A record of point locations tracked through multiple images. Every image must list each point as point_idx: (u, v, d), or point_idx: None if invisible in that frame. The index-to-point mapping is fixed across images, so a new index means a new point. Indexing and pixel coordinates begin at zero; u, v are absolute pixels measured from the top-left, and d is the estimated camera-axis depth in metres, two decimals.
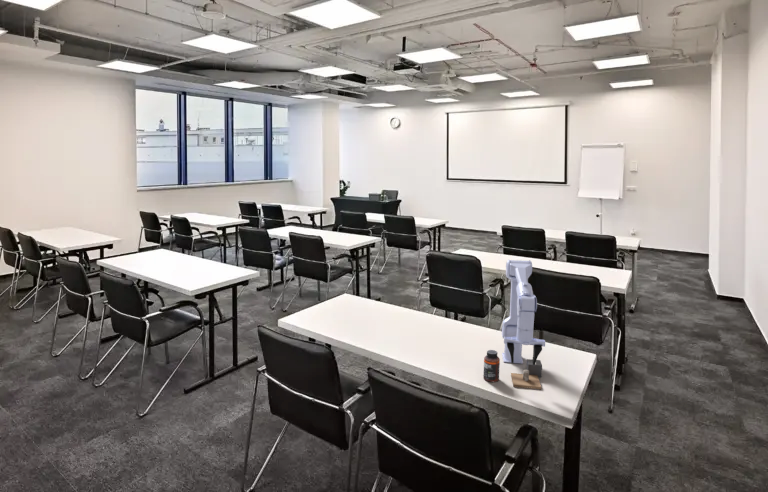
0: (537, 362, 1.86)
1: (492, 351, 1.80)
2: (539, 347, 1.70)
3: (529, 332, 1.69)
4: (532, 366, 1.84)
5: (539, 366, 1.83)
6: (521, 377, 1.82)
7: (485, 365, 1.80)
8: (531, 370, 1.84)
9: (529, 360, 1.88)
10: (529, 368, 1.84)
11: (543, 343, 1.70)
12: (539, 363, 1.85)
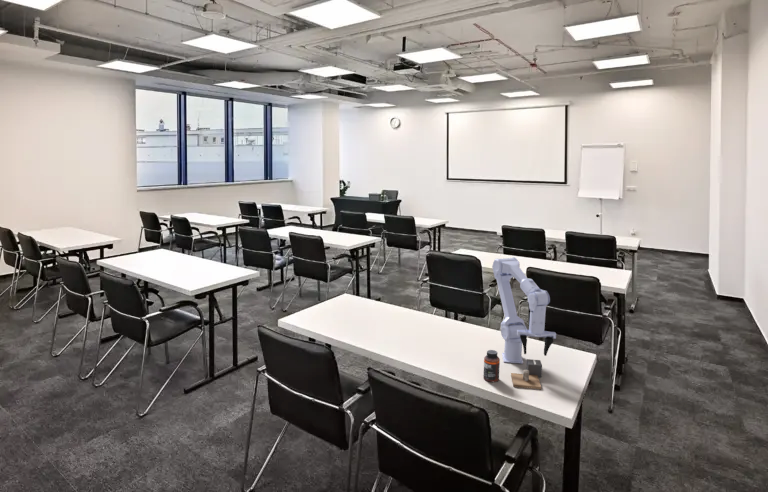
0: (537, 362, 1.86)
1: (492, 351, 1.80)
2: (550, 339, 1.82)
3: (541, 325, 1.81)
4: (532, 366, 1.84)
5: (539, 366, 1.83)
6: (521, 377, 1.82)
7: (485, 365, 1.80)
8: (531, 370, 1.84)
9: (529, 360, 1.88)
10: (529, 368, 1.84)
11: (554, 335, 1.82)
12: (539, 363, 1.85)
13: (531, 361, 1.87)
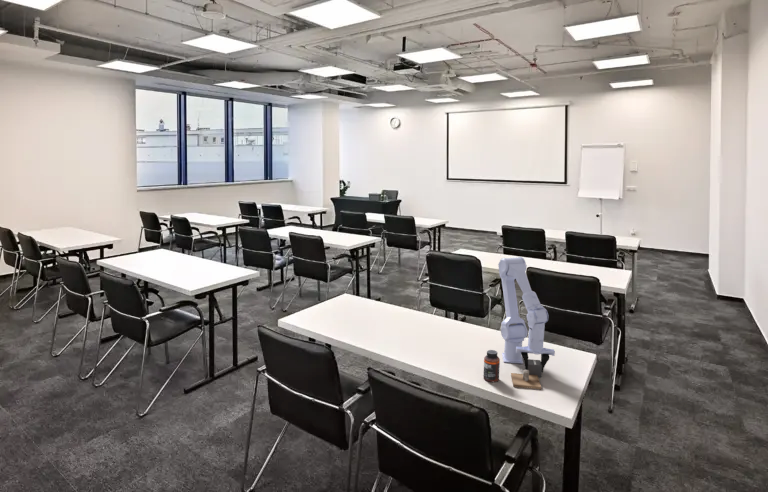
0: (537, 362, 1.86)
1: (492, 351, 1.80)
2: None
3: (540, 342, 1.82)
4: (532, 366, 1.84)
5: (539, 366, 1.83)
6: (521, 377, 1.82)
7: (485, 365, 1.80)
8: (531, 370, 1.84)
9: (529, 360, 1.88)
10: (529, 368, 1.84)
11: (553, 352, 1.83)
12: (539, 363, 1.85)
13: (531, 361, 1.87)
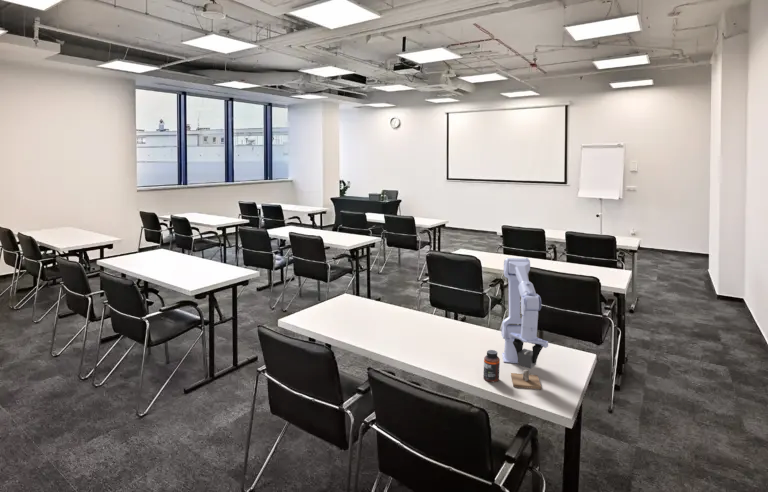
0: (530, 353, 1.77)
1: (492, 351, 1.80)
2: (539, 347, 1.73)
3: (529, 330, 1.74)
4: (522, 355, 1.77)
5: (528, 356, 1.75)
6: (521, 377, 1.82)
7: (485, 365, 1.80)
8: (521, 359, 1.77)
9: (524, 350, 1.80)
10: (519, 357, 1.78)
11: (544, 344, 1.72)
12: (531, 354, 1.76)
13: (525, 351, 1.79)
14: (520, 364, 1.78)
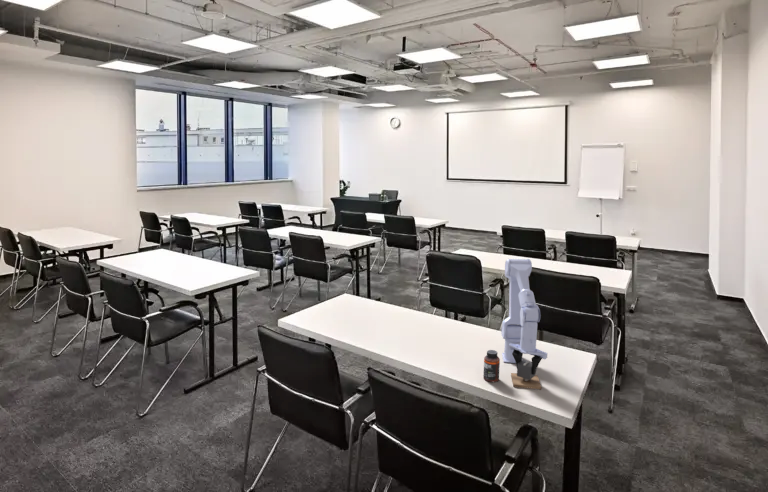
0: (529, 364, 1.78)
1: (492, 351, 1.80)
2: (539, 358, 1.73)
3: (528, 342, 1.74)
4: (521, 366, 1.77)
5: (528, 367, 1.76)
6: (521, 377, 1.82)
7: (485, 365, 1.80)
8: (520, 370, 1.78)
9: (523, 361, 1.81)
10: (518, 368, 1.78)
11: (543, 355, 1.73)
12: (530, 365, 1.77)
13: (524, 362, 1.80)
14: (519, 375, 1.78)
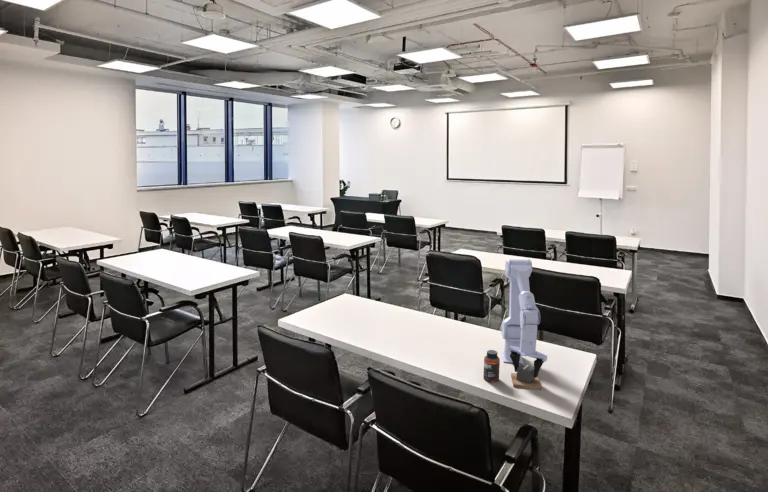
0: (529, 368, 1.78)
1: (492, 351, 1.80)
2: (538, 361, 1.74)
3: (528, 344, 1.74)
4: (521, 370, 1.78)
5: (527, 372, 1.76)
6: None
7: (485, 365, 1.80)
8: (520, 374, 1.78)
9: (523, 365, 1.81)
10: (518, 372, 1.79)
11: (543, 358, 1.73)
12: (530, 369, 1.77)
13: (524, 366, 1.80)
14: (519, 379, 1.79)
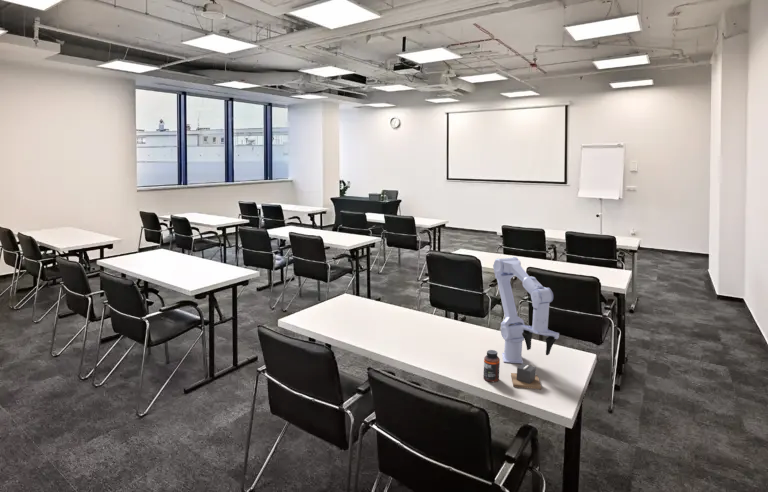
0: (529, 368, 1.78)
1: (492, 351, 1.80)
2: (550, 338, 1.78)
3: (540, 322, 1.79)
4: (521, 370, 1.78)
5: (527, 372, 1.76)
6: None
7: (485, 365, 1.80)
8: (520, 374, 1.78)
9: (523, 365, 1.81)
10: (518, 372, 1.79)
11: (555, 335, 1.78)
12: (530, 369, 1.77)
13: (524, 366, 1.80)
14: (519, 379, 1.79)
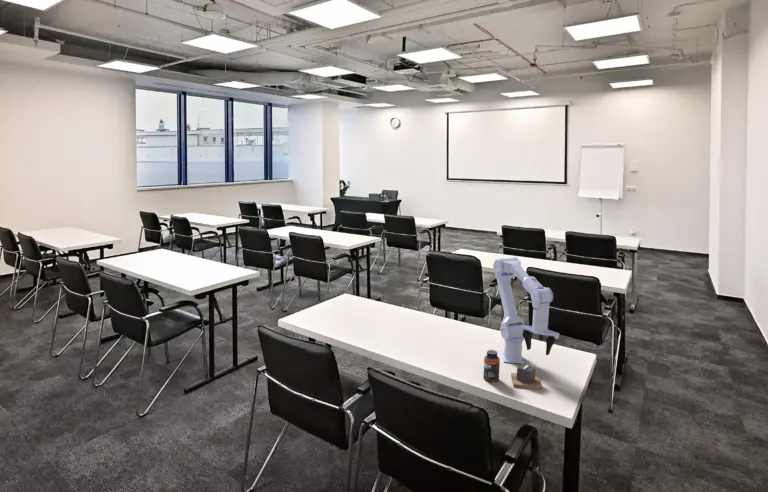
0: (529, 368, 1.78)
1: (492, 351, 1.80)
2: (550, 338, 1.78)
3: (540, 322, 1.79)
4: (521, 370, 1.78)
5: (527, 372, 1.76)
6: None
7: (485, 365, 1.80)
8: (520, 374, 1.78)
9: (523, 365, 1.81)
10: (518, 372, 1.79)
11: (555, 335, 1.78)
12: (530, 369, 1.77)
13: (524, 366, 1.80)
14: (519, 379, 1.79)
